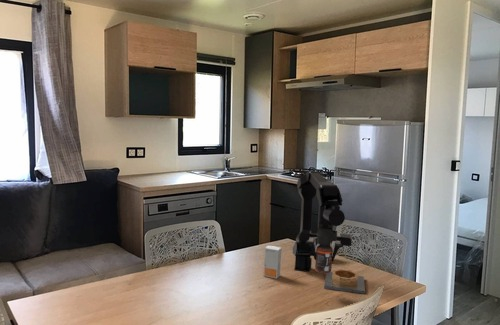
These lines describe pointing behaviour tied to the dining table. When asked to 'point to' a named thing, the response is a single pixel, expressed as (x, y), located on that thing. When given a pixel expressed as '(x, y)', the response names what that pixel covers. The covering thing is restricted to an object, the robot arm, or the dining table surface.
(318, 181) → the robot arm
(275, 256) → the skincare box
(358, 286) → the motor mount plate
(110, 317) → the dining table surface
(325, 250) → the supplement bottle
